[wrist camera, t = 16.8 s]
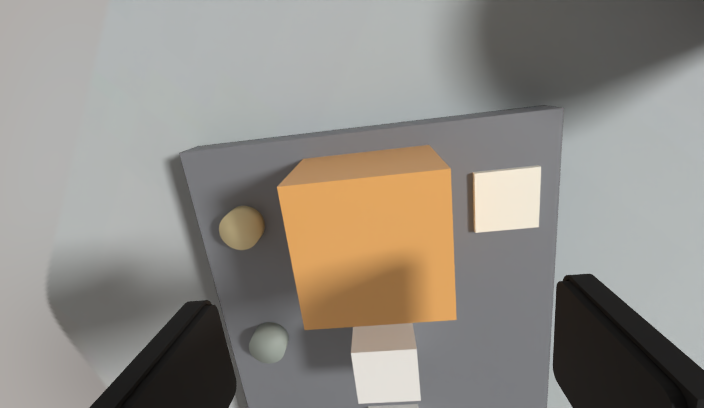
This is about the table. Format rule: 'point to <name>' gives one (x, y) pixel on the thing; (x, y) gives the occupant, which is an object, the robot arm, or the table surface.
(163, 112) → the table surface
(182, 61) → the table surface
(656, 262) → the table surface
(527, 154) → the breaker panel
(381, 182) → the cap
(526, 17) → the table surface
